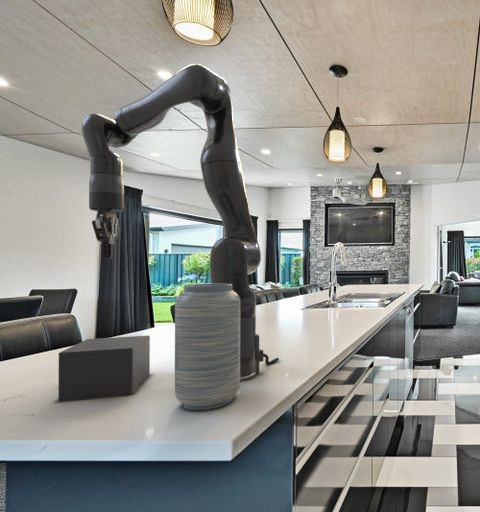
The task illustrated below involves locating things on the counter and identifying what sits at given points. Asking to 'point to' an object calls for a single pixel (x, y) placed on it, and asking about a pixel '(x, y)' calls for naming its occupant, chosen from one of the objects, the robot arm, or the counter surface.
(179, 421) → the counter surface
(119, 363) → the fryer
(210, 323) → the vase
